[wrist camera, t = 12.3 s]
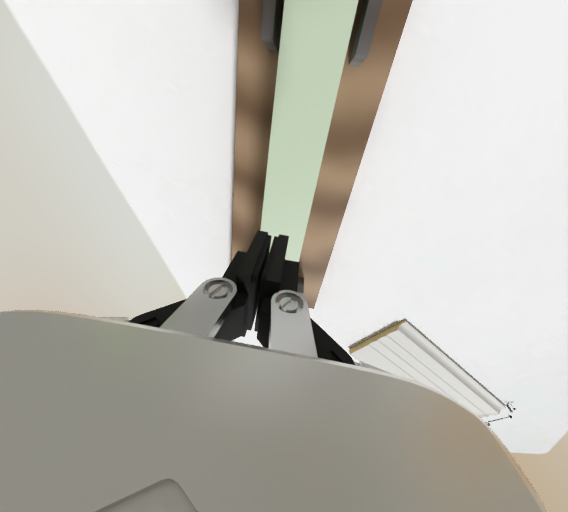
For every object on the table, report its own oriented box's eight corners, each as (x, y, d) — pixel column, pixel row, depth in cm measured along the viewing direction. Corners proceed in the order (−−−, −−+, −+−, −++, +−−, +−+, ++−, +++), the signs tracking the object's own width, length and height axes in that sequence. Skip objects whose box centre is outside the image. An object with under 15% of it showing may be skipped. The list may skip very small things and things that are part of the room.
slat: (294, 5, 15) (288, -40, 11) (349, 15, 15) (364, -26, 11) (260, 284, 29) (251, 311, 25) (289, 289, 29) (285, 317, 25)
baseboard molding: (412, 312, 32) (348, 346, 37) (421, 327, 29) (351, 361, 35) (511, 400, 40) (447, 417, 46) (524, 418, 38) (454, 434, 43)
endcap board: (246, -43, 15) (225, -98, 12) (411, -13, 15) (444, -59, 12) (233, 286, 32) (223, 308, 28) (313, 301, 32) (313, 325, 28)
